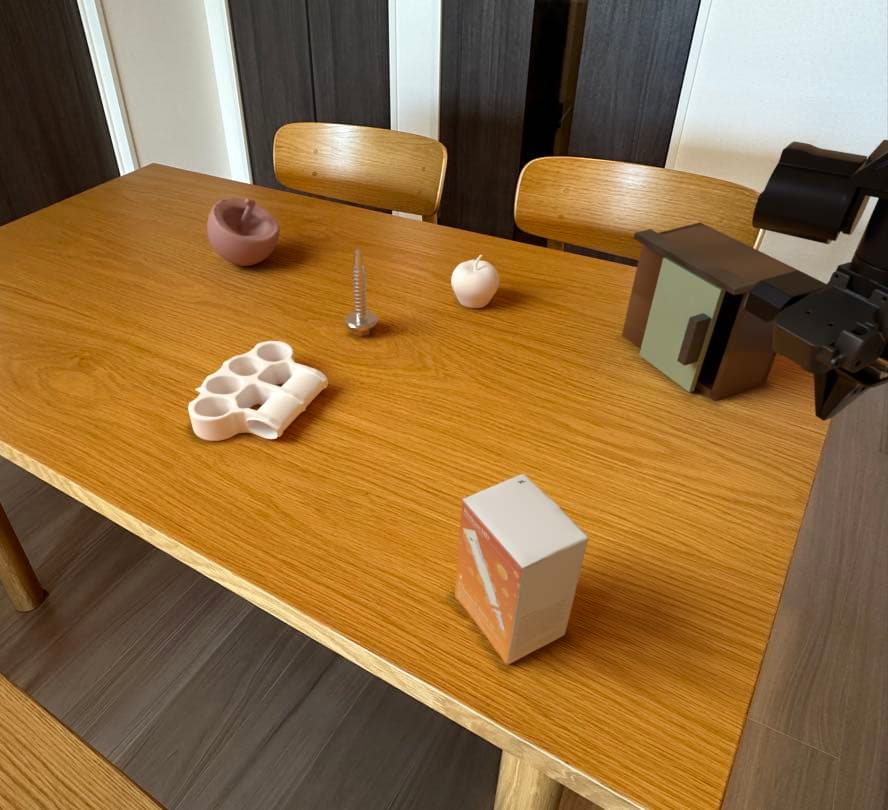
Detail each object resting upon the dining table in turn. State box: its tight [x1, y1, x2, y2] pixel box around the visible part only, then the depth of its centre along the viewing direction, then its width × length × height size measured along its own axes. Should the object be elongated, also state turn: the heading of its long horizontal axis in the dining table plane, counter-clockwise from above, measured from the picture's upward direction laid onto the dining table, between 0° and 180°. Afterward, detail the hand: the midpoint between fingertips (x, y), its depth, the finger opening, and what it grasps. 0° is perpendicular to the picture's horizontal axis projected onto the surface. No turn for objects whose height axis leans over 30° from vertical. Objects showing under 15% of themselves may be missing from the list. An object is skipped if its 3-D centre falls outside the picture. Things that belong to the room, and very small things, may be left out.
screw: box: [343, 248, 379, 338], centre depth 96 cm, size 13×5×5 cm
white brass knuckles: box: [187, 340, 329, 442], centre depth 87 cm, size 3×18×15 cm
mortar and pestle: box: [206, 197, 280, 267], centre depth 116 cm, size 12×12×11 cm
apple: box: [450, 254, 500, 309], centre depth 103 cm, size 7×7×8 cm
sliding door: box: [638, 257, 726, 393], centre depth 83 cm, size 9×3×14 cm, turn 21°
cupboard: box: [621, 222, 809, 402], centre depth 85 cm, size 16×10×16 cm, turn 21°
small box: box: [454, 473, 589, 666], centre depth 58 cm, size 8×6×13 cm
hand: (823, 417), depth 62 cm, fingers closed
